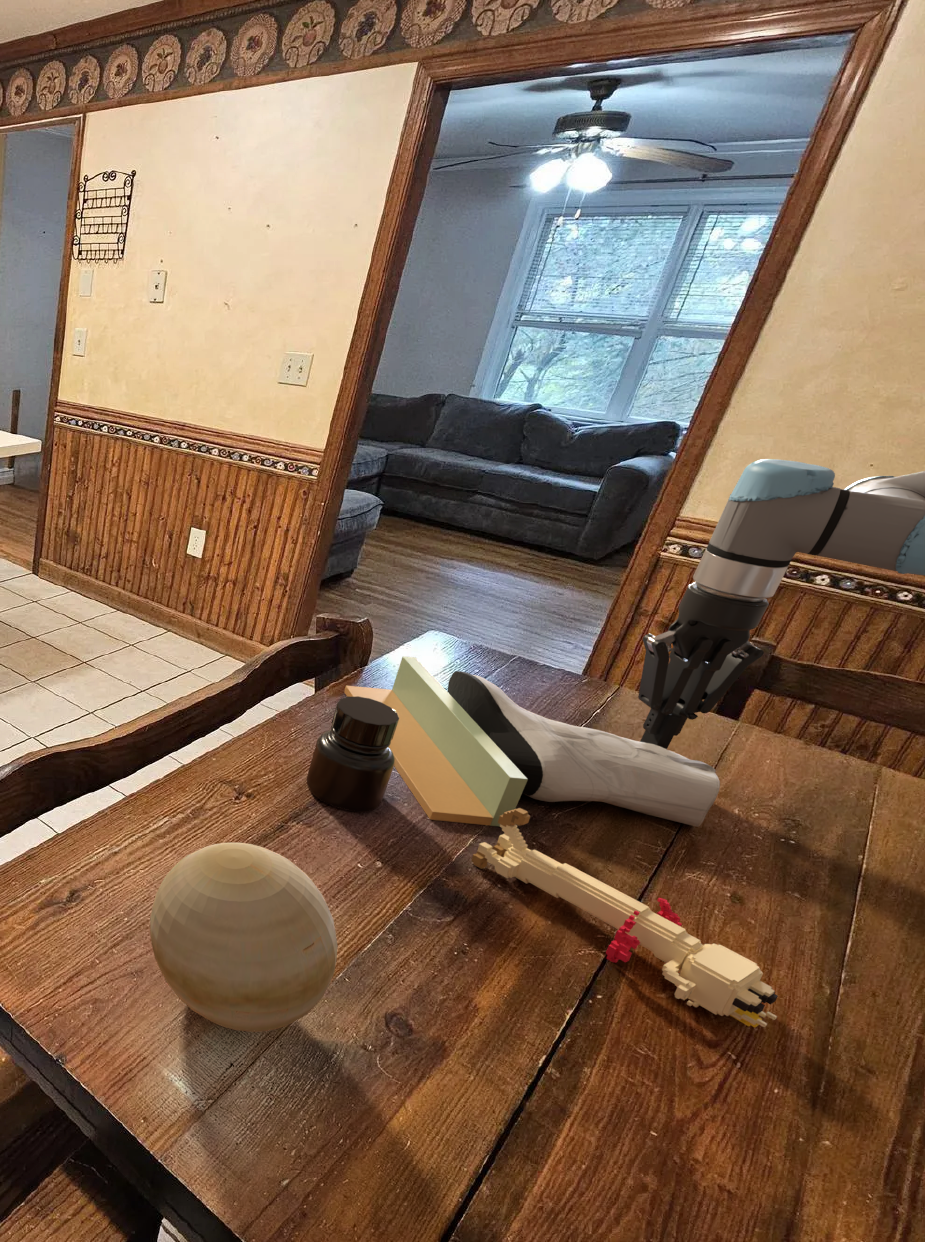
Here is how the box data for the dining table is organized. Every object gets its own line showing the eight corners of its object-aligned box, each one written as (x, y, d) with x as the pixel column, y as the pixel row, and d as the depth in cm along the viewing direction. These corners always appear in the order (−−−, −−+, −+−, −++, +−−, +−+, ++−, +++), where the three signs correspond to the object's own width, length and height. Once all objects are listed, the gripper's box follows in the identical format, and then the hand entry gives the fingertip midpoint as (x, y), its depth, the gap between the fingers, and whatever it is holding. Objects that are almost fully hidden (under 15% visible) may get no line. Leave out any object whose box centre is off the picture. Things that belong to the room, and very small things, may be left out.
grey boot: (510, 751, 95) (755, 794, 90) (455, 642, 118) (647, 672, 113) (481, 810, 100) (712, 855, 94) (434, 695, 123) (617, 726, 117)
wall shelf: (403, 697, 123) (416, 657, 120) (507, 827, 95) (528, 779, 92) (343, 692, 124) (355, 652, 121) (429, 819, 95) (447, 771, 92)
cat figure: (455, 879, 87) (738, 1051, 67) (474, 812, 84) (777, 971, 64) (510, 856, 92) (792, 1011, 71) (530, 791, 88) (832, 933, 68)
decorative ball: (286, 1109, 61) (334, 969, 55) (110, 1009, 69) (134, 875, 62) (331, 982, 72) (375, 854, 66) (175, 908, 80) (202, 786, 73)
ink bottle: (382, 783, 102) (409, 703, 96) (387, 823, 94) (416, 737, 89) (302, 764, 105) (324, 685, 100) (300, 801, 97) (324, 717, 92)
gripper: (762, 583, 99) (680, 742, 109) (652, 575, 100) (582, 734, 110) (813, 606, 92) (721, 774, 102) (695, 597, 93) (616, 764, 103)
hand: (649, 753), depth 106 cm, fingers closed
